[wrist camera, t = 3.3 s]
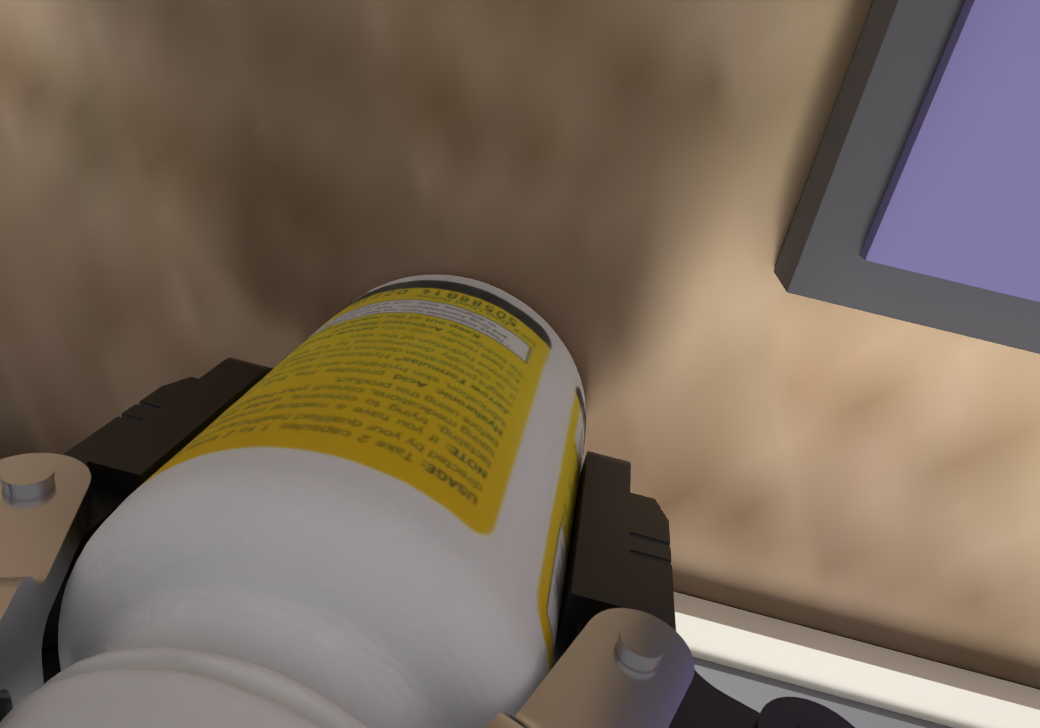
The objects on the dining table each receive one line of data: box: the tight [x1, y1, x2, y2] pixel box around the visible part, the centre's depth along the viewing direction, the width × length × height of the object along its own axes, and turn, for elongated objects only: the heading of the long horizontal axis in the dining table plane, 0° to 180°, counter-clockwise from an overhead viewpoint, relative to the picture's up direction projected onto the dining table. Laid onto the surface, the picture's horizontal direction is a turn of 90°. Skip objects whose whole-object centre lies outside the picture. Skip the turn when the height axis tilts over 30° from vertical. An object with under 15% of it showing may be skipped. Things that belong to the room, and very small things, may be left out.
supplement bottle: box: [0, 275, 586, 728], centre depth 10 cm, size 5×5×10 cm
